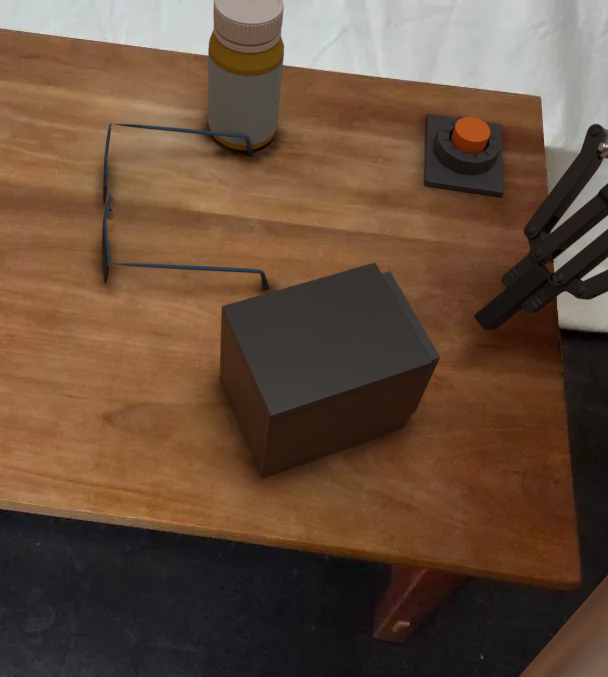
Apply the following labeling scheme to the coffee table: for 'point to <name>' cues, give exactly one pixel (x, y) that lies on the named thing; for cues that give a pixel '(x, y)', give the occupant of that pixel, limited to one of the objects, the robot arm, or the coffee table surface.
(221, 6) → the bottle
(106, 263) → the sunglasses
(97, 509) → the coffee table surface
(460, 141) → the button
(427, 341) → the pulled-out drawer
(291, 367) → the dark grey drawer box
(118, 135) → the coffee table surface
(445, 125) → the block
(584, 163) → the robot arm
